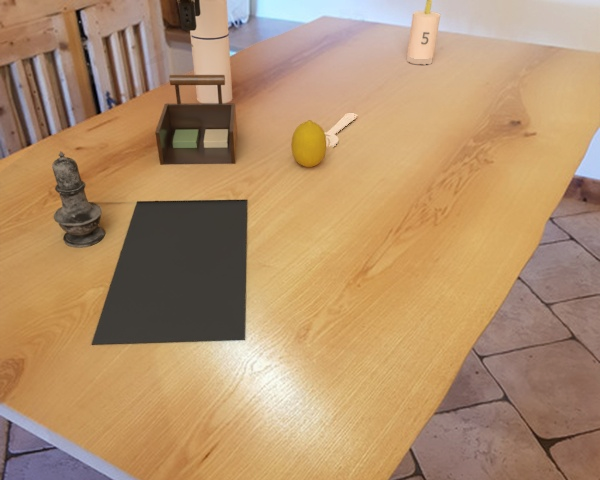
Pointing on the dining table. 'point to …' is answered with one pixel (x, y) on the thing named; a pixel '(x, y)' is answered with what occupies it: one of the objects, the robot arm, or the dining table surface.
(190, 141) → the block
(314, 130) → the lemon
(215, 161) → the basket
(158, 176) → the dining table surface
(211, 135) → the block
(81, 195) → the salt shaker
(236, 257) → the mat
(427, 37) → the candle
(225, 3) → the cylindrical container
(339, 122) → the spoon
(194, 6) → the robot arm
